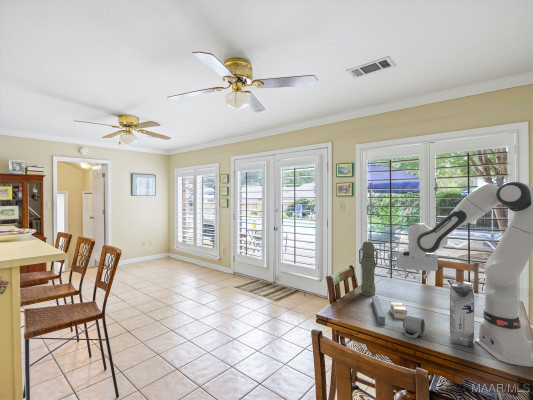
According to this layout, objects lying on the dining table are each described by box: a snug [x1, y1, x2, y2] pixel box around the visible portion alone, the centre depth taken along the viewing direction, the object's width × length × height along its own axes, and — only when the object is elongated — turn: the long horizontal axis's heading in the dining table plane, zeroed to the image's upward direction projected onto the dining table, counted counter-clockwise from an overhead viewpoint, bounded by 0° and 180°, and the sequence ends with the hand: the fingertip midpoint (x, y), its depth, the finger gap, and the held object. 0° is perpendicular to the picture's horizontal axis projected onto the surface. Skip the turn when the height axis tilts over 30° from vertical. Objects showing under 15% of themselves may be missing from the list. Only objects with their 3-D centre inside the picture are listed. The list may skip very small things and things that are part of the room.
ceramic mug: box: [402, 315, 426, 339], centre depth 131 cm, size 11×8×8 cm
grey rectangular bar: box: [371, 295, 386, 326], centre depth 155 cm, size 30×3×4 cm, turn 165°
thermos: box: [358, 241, 379, 297], centre depth 184 cm, size 9×12×35 cm
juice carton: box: [449, 280, 475, 348], centre depth 124 cm, size 9×10×27 cm
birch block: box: [389, 301, 408, 320], centre depth 153 cm, size 10×6×5 cm, turn 169°
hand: (415, 277), depth 151 cm, fingers open, 8 cm apart
